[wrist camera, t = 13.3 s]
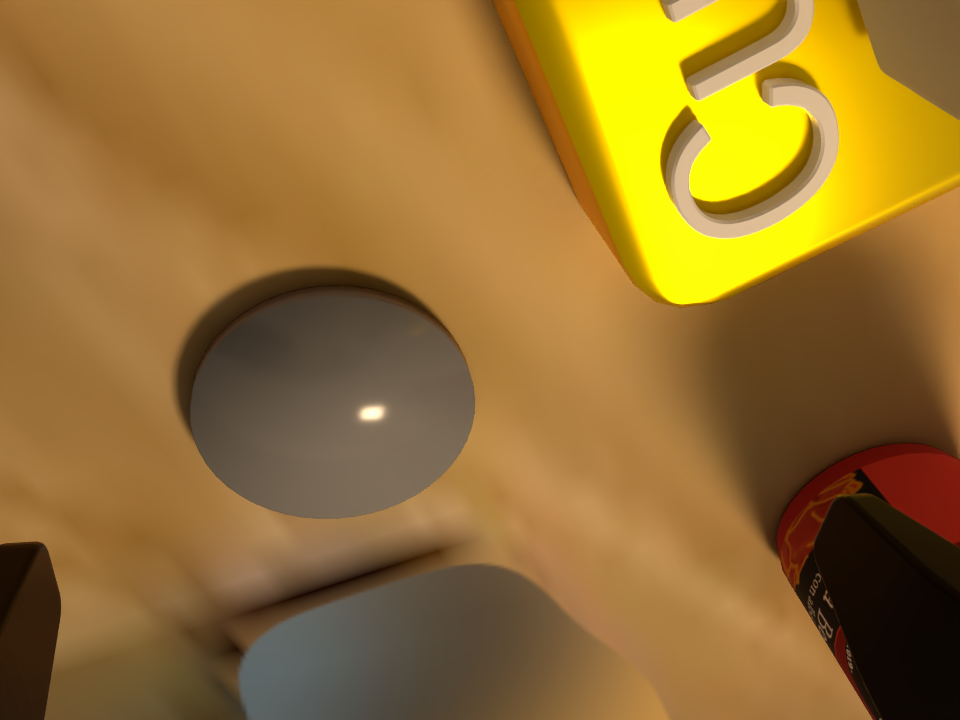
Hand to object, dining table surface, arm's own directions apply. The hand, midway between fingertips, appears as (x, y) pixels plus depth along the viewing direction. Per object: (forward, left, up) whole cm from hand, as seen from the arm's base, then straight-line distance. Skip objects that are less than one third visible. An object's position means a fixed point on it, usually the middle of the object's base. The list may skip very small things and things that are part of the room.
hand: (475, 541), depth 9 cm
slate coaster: (-1, -8, -13) cm, 15 cm away
